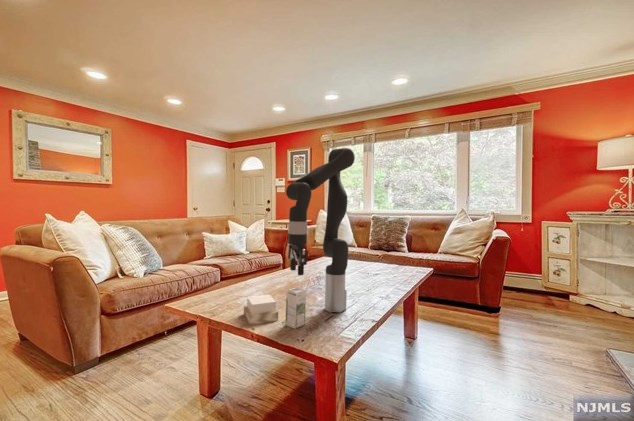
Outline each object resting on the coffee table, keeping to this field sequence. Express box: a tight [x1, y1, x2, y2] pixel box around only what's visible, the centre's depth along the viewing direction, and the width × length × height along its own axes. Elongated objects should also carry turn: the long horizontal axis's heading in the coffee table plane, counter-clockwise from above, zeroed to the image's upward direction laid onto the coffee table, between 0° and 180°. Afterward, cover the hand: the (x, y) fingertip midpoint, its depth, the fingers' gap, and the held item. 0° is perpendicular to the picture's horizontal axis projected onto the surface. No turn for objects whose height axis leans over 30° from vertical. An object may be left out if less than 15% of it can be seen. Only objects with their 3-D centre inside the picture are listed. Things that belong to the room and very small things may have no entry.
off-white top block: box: [246, 294, 277, 314], centre depth 121 cm, size 10×10×4 cm
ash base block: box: [243, 305, 279, 326], centre depth 121 cm, size 12×12×4 cm
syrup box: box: [284, 286, 307, 330], centre depth 114 cm, size 6×6×14 cm
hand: (296, 272), depth 114 cm, fingers open, 8 cm apart
